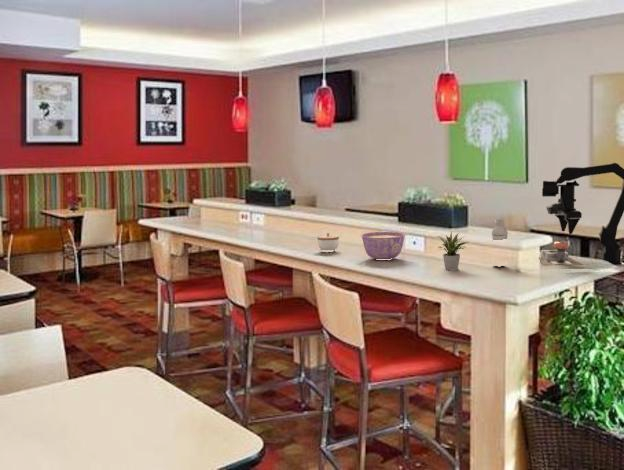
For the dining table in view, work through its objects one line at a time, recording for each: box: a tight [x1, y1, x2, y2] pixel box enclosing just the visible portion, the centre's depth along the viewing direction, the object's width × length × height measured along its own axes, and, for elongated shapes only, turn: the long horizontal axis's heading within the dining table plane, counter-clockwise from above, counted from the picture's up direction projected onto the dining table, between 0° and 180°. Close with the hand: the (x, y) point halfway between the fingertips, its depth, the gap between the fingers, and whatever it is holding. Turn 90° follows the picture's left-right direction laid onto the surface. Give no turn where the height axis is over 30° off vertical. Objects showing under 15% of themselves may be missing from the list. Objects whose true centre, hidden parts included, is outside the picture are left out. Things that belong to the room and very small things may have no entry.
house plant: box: [437, 230, 469, 271], centre depth 292 cm, size 14×14×16 cm
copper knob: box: [553, 240, 569, 263], centre depth 291 cm, size 6×6×9 cm
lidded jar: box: [317, 232, 340, 251], centre depth 348 cm, size 11×11×9 cm
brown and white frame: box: [539, 249, 584, 270], centre depth 297 cm, size 16×18×5 cm
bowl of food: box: [361, 231, 406, 260], centre depth 322 cm, size 20×20×12 cm
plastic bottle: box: [491, 219, 508, 241], centre depth 294 cm, size 6×7×20 cm
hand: (566, 232), depth 301 cm, fingers open, 9 cm apart
